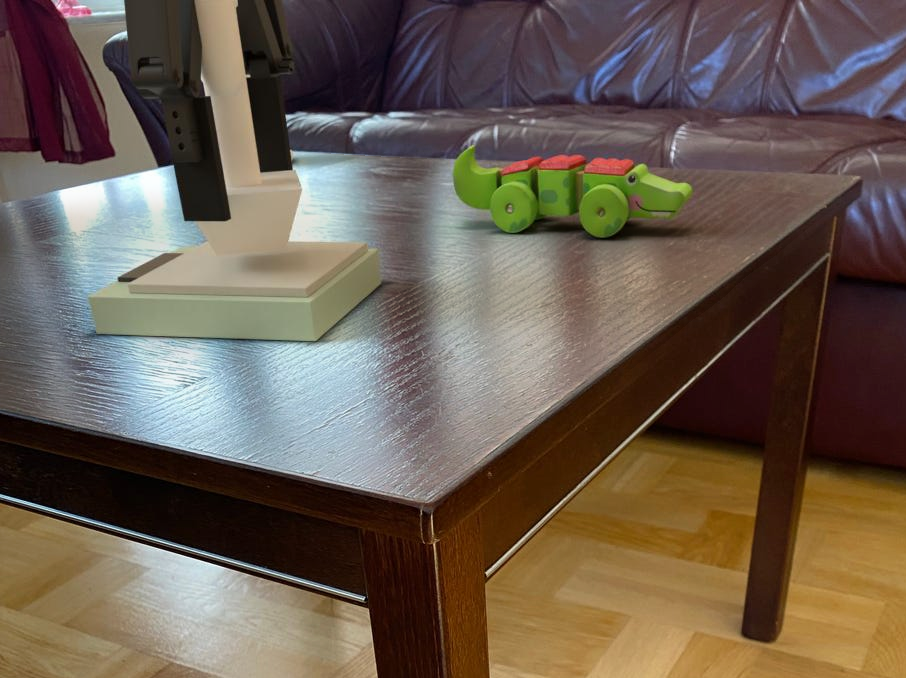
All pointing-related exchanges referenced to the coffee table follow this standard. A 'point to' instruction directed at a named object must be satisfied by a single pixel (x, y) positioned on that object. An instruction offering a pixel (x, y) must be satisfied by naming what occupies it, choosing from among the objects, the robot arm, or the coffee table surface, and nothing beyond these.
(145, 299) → the scale
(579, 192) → the toy crocodile
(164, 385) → the coffee table surface
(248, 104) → the cream block with rod
